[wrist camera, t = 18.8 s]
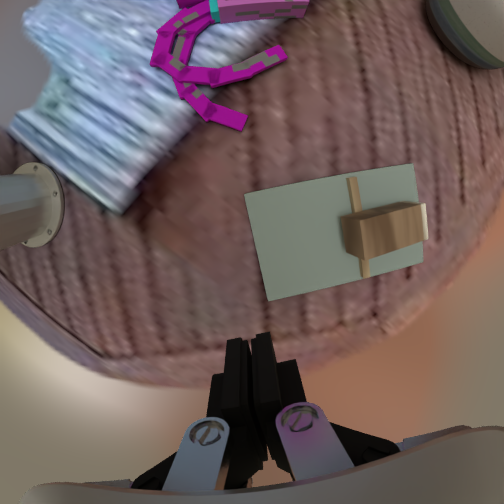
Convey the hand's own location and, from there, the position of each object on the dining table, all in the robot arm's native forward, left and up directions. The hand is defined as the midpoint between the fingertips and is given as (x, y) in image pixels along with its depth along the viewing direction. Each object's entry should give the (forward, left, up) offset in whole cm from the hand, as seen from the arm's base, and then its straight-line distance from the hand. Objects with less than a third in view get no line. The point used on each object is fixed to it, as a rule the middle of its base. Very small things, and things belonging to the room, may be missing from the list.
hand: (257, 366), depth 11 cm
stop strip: (+14, -2, -26) cm, 30 cm away
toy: (+3, +26, -28) cm, 38 cm away
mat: (+12, -2, -27) cm, 30 cm away
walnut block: (+12, -2, -22) cm, 25 cm away
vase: (+41, +27, -27) cm, 56 cm away
